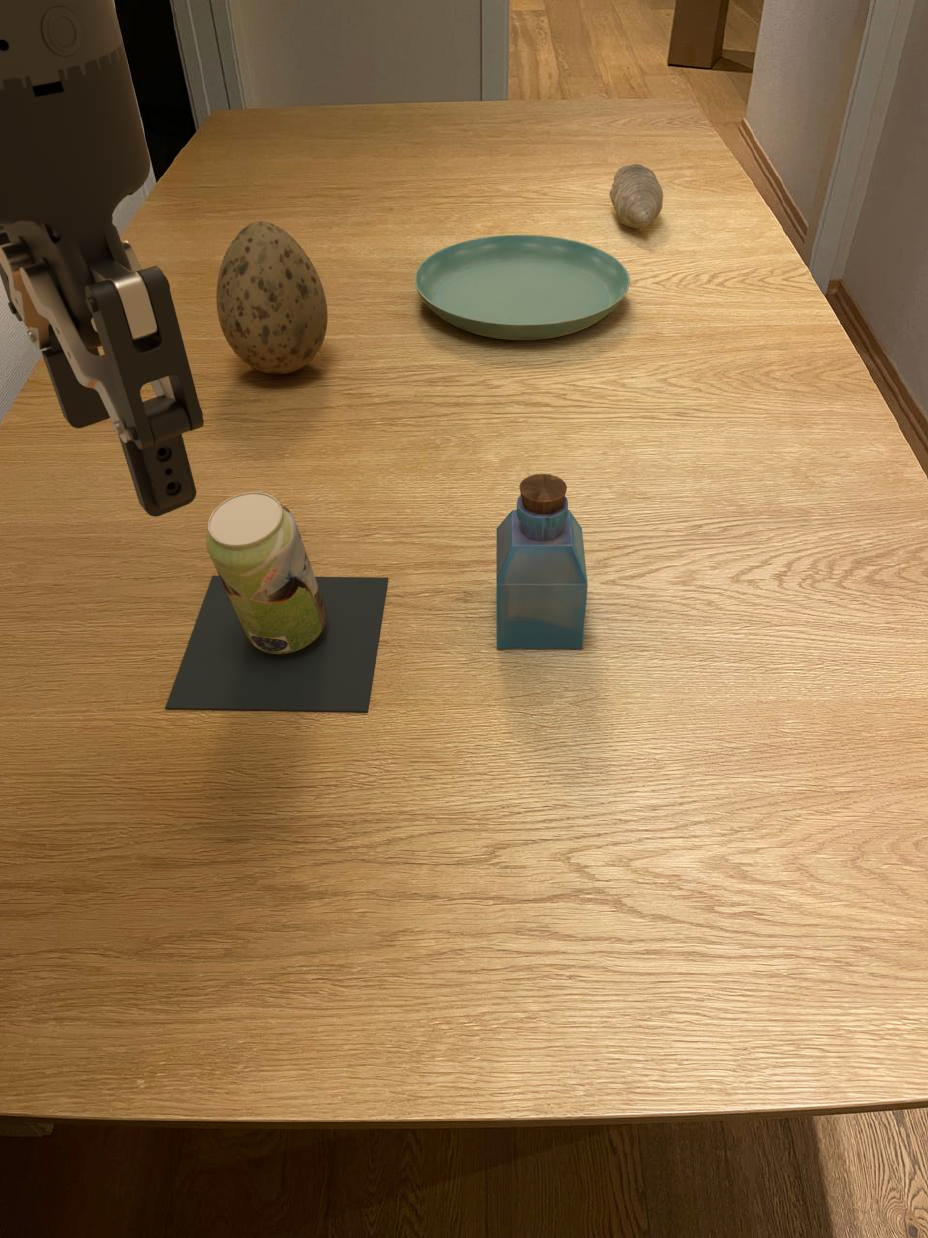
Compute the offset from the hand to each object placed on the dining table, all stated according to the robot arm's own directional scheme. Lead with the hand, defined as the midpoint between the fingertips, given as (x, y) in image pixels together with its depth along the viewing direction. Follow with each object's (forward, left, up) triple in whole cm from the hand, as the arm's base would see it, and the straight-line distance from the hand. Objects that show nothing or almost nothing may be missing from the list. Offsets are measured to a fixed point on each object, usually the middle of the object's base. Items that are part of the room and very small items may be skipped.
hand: (129, 460), depth 43 cm
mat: (+10, +12, -26) cm, 30 cm away
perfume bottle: (+26, +2, -26) cm, 37 cm away
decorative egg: (+30, +48, -26) cm, 62 cm away
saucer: (+59, +44, -26) cm, 78 cm away
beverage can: (+10, +12, -26) cm, 30 cm away
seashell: (+86, +53, -26) cm, 104 cm away
